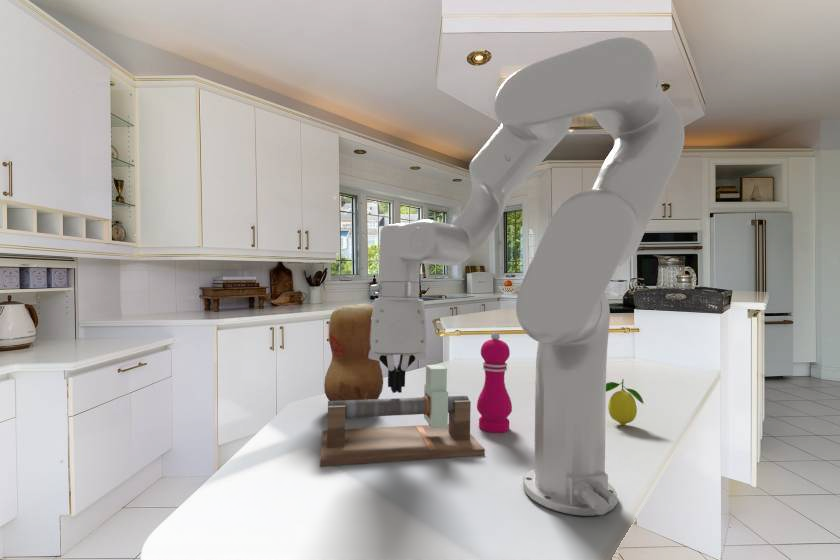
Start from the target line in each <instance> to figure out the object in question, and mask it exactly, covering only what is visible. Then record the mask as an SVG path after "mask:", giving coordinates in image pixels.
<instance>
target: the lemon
mask: <svg viewBox="0 0 840 560" xmlns="http://www.w3.org/2000/svg"><path fill="white" fill-rule="evenodd" d="M621 380H622V381H621V383H617V382H614V381H611V382H610V381H609V382H606V393H607V392H609V391H613V390H615V389H616V388H618V387H619V386H620V385H621V389H620V390H618V391H616V392H614V393H612V395H611V397H610V398H609V401H608V406H607V407H608V413H609V416H610V417H611V419H612V420H614V421H615V422H617V423H619V425H620V426H621V425H624V426H625V425H626V424H629V423H631V422H633V421H634V420H635V419H636V416H637V413H638V408H637V404H636V401H635V400H637V401H639V403H641V404H643V405H644V400H643V398H642V396H641V394H640V393H639V392H638V391H636V390H635V389H633V388H626V387H625V386H624V378H622V379H621Z"/></svg>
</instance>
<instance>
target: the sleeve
mask: <svg viewBox="0 0 840 560" xmlns="http://www.w3.org/2000/svg"><path fill="white" fill-rule="evenodd" d="M447 370H448V369H447V368H446V366H444V365H443V364H426V365H425V384H424V386H423V387H424V388H423V389H424V390H423V391H424V392H423V397H424V396H429V397H430V398H431V400H430V415H424V414H423V418H424V419H425V421H426V423H427V425H430V427H431V428H448V424H449V413H448V396H449V391H448V389H447V385H448V384H447V383H448V382H447V379H448V377H447V376H448V375H447V373H448V371H447Z"/></svg>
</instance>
